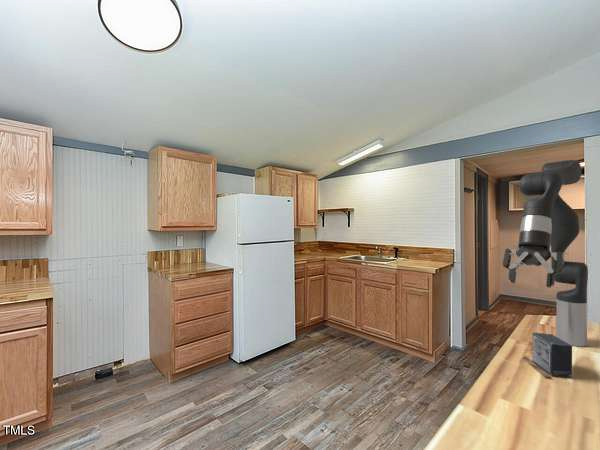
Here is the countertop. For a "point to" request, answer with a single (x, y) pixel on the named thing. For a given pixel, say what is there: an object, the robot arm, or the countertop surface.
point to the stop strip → (537, 368)
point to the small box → (552, 355)
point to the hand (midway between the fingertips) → (529, 284)
